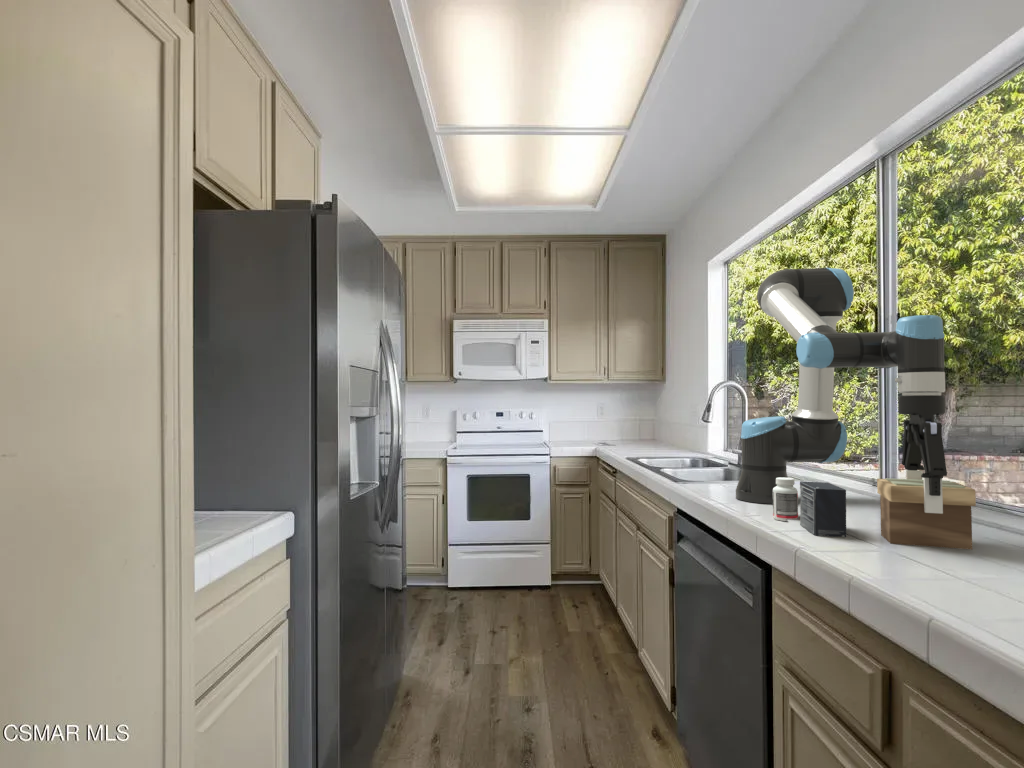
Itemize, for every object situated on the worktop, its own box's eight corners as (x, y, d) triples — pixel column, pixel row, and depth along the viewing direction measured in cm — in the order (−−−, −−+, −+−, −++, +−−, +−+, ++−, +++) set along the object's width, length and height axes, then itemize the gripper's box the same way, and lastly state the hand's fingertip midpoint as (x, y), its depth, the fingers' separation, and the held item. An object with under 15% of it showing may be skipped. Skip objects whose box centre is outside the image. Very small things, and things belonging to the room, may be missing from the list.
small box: (849, 541, 115) (848, 489, 115) (814, 539, 116) (813, 488, 116) (830, 529, 125) (830, 481, 125) (799, 527, 126) (798, 480, 127)
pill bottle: (803, 521, 133) (802, 479, 133) (783, 522, 131) (783, 480, 132) (787, 516, 138) (786, 476, 138) (768, 517, 137) (767, 477, 137)
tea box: (881, 538, 116) (880, 494, 117) (957, 543, 112) (956, 498, 112) (890, 546, 110) (889, 500, 110) (972, 553, 105) (971, 504, 105)
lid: (877, 493, 118) (877, 477, 118) (954, 496, 114) (953, 480, 114) (891, 501, 108) (891, 484, 108) (975, 506, 104) (975, 487, 104)
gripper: (883, 394, 124) (885, 496, 123) (917, 394, 102) (919, 517, 101) (924, 394, 121) (926, 498, 120) (967, 394, 99) (970, 520, 99)
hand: (923, 507), depth 111 cm, fingers closed on lid, 10 cm apart
